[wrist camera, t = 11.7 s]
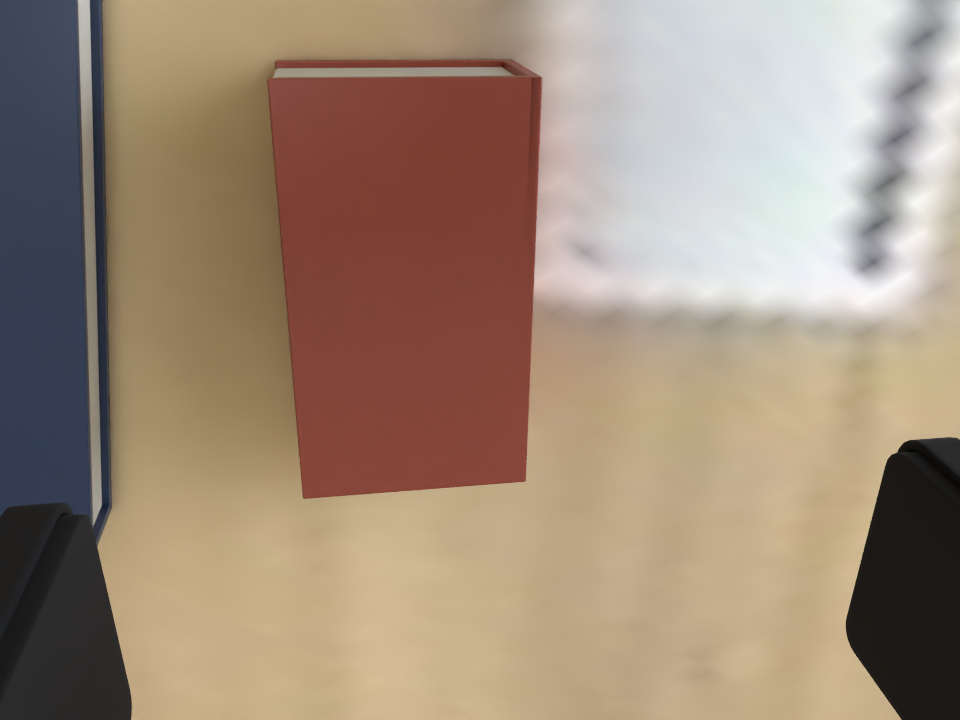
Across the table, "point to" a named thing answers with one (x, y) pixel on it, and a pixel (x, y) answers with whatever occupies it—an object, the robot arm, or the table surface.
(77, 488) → the hardcover book
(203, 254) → the table surface
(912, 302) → the table surface
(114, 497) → the table surface
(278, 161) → the pocket book
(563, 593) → the table surface
